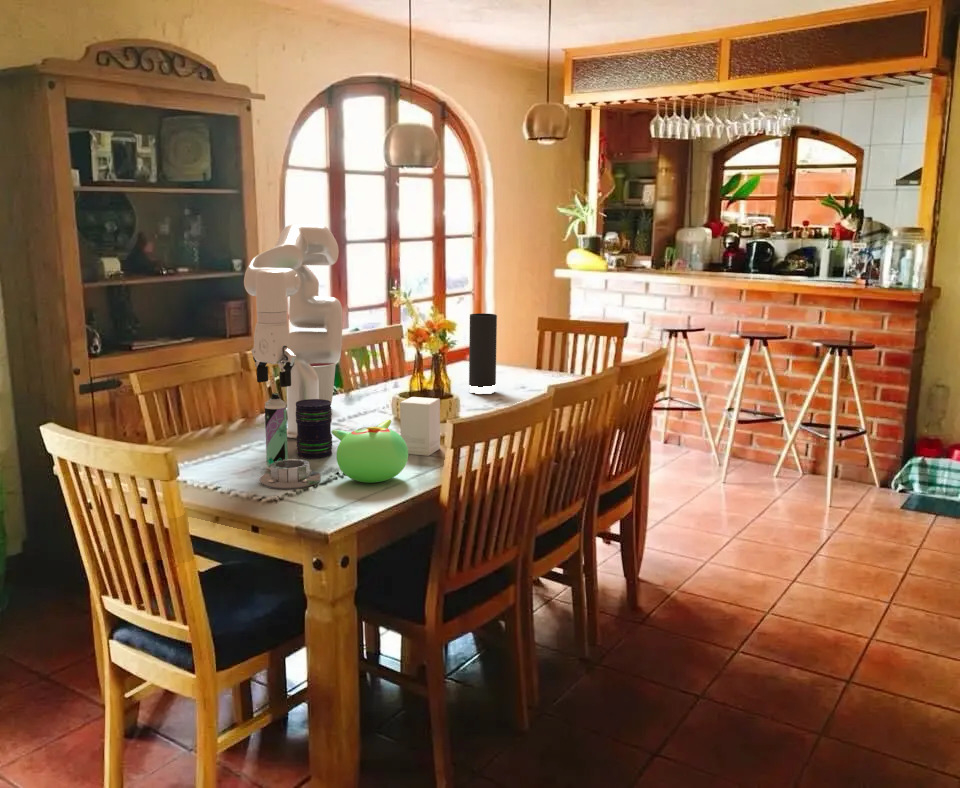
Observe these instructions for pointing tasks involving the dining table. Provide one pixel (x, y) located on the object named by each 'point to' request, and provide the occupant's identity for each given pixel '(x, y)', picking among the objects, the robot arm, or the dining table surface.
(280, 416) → the spray can
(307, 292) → the robot arm
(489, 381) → the black tall cylinder
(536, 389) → the dining table surface
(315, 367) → the white bucket
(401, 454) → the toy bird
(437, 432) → the supplement box
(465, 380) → the dining table surface
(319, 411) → the storage jar
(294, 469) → the collar
